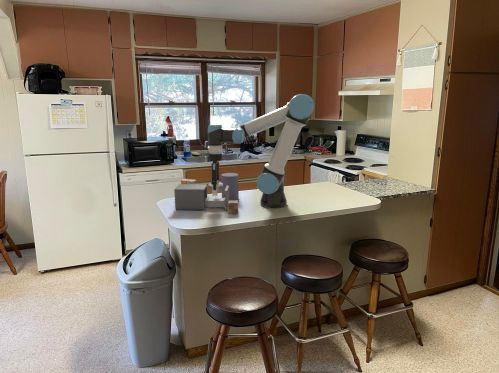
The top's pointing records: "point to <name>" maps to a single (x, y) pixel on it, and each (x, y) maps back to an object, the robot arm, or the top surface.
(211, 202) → the tray
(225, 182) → the container
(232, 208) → the walnut block
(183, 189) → the grey box
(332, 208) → the top surface
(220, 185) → the disc
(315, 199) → the top surface
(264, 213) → the top surface
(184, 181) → the supplement box
